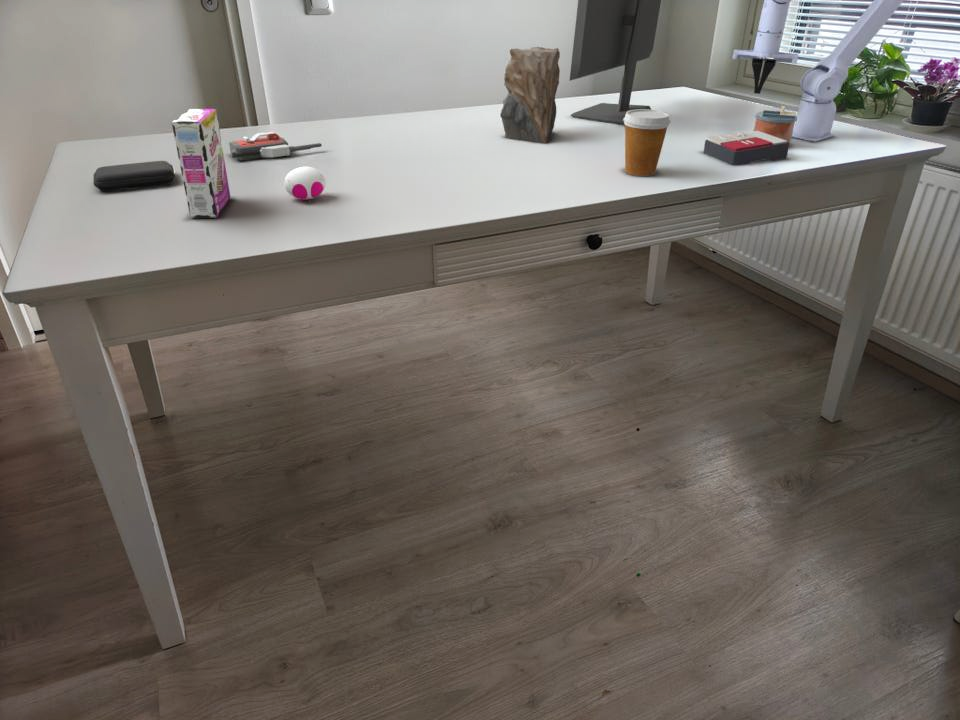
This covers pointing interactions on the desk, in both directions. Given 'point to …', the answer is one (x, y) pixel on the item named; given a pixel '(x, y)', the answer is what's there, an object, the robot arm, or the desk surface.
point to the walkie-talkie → (264, 147)
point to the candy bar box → (202, 162)
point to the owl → (531, 94)
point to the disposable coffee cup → (644, 140)
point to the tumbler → (775, 124)
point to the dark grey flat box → (746, 147)
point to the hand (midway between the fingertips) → (757, 92)
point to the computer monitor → (613, 48)
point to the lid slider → (786, 112)
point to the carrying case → (134, 175)
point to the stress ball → (305, 183)
